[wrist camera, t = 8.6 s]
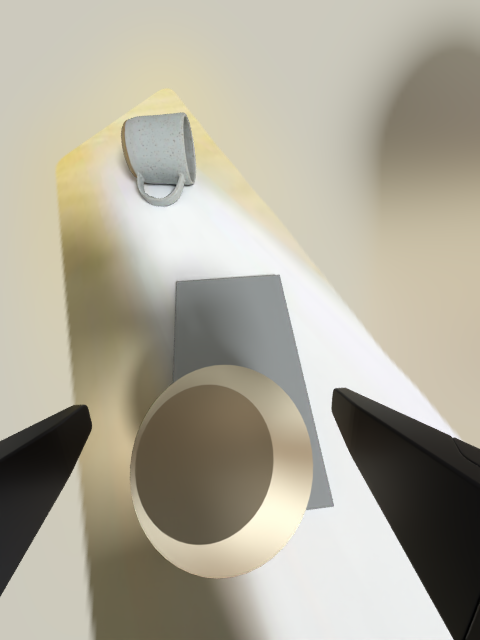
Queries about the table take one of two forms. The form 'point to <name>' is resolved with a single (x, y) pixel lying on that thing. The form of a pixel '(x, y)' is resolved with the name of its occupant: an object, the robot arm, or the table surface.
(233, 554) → the birch lid
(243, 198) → the table surface
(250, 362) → the slate mat
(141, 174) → the ceramic mug
